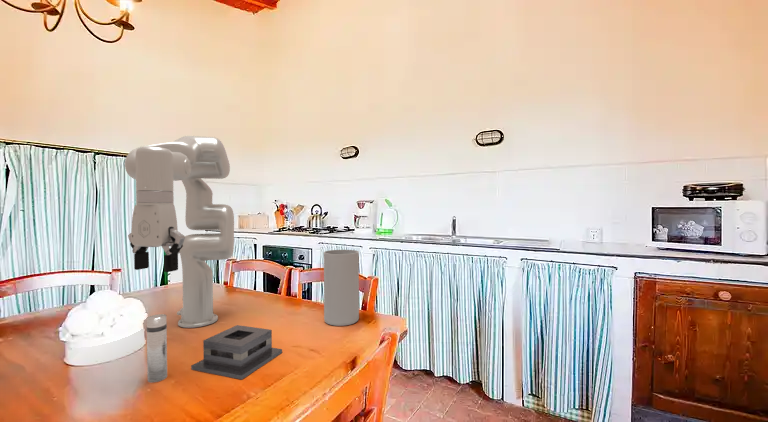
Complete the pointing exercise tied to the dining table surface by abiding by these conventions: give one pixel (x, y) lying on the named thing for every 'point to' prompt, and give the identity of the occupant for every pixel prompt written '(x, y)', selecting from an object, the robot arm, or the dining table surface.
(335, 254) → the cylinder vase
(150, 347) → the tube
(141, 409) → the dining table surface
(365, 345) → the dining table surface
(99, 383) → the dining table surface
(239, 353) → the collar stand
